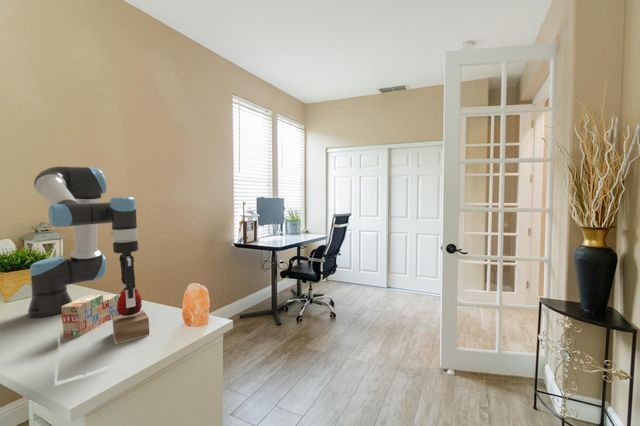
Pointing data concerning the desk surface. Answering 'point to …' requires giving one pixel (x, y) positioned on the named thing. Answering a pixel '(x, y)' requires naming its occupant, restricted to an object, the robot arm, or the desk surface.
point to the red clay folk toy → (131, 310)
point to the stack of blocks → (88, 313)
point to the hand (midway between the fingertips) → (129, 303)
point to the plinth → (130, 326)
